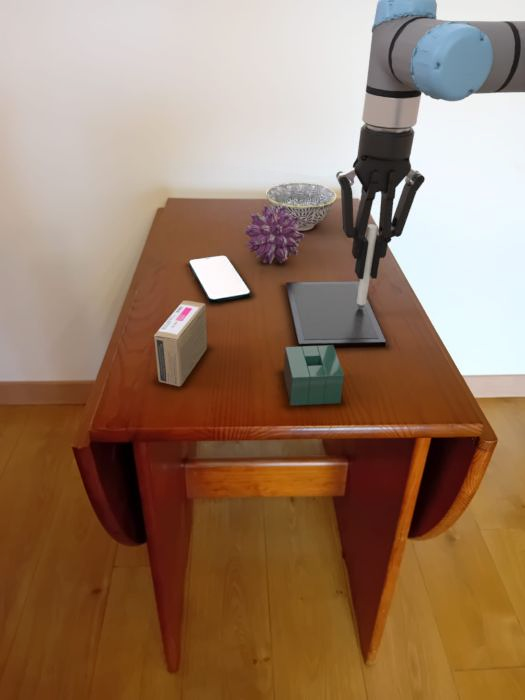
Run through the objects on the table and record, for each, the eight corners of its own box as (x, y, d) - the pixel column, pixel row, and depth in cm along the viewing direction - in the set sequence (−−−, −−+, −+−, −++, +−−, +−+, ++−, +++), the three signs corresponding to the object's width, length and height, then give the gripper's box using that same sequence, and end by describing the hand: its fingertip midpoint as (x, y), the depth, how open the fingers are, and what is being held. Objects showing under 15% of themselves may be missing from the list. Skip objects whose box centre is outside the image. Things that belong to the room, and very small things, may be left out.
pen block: (340, 403, 75) (344, 375, 72) (290, 405, 74) (292, 377, 71) (330, 372, 80) (333, 344, 78) (283, 374, 80) (285, 346, 77)
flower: (243, 257, 114) (295, 240, 116) (261, 282, 105) (317, 262, 107) (231, 206, 107) (286, 189, 109) (249, 227, 98) (309, 208, 100)
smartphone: (251, 297, 98) (225, 258, 110) (252, 293, 97) (225, 254, 109) (209, 304, 96) (187, 264, 108) (209, 300, 95) (187, 260, 107)
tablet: (385, 346, 86) (386, 341, 85) (298, 348, 85) (298, 343, 85) (358, 286, 102) (359, 281, 102) (285, 286, 101) (285, 281, 101)
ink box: (186, 344, 85) (183, 298, 81) (209, 349, 85) (207, 302, 80) (156, 382, 78) (151, 334, 73) (181, 388, 77) (177, 339, 72)
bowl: (256, 233, 121) (256, 200, 117) (275, 208, 134) (276, 178, 129) (325, 243, 118) (329, 210, 113) (339, 217, 130) (342, 186, 126)
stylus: (366, 308, 93) (380, 226, 85) (360, 311, 93) (373, 229, 84) (359, 304, 94) (372, 223, 86) (353, 307, 94) (365, 225, 85)
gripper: (428, 119, 80) (401, 263, 93) (331, 119, 78) (318, 265, 92) (448, 132, 74) (415, 284, 87) (343, 132, 72) (326, 287, 86)
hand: (365, 274), depth 90 cm, fingers closed on stylus, 1 cm apart
